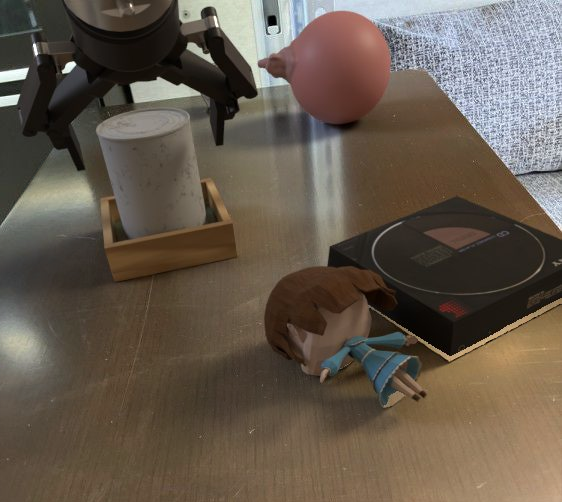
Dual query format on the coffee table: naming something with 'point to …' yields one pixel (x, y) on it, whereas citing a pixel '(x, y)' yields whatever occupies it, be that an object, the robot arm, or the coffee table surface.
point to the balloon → (335, 67)
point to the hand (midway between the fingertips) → (148, 145)
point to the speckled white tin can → (153, 171)
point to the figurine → (339, 327)
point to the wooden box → (168, 241)
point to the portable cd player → (458, 271)
